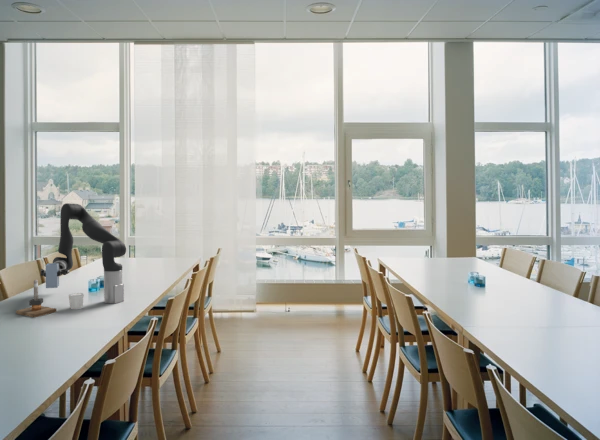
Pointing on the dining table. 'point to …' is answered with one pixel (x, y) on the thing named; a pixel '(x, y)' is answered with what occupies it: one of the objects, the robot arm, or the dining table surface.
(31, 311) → the post stand
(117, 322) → the dining table surface
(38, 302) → the ring
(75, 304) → the white cup
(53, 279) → the sleeve
